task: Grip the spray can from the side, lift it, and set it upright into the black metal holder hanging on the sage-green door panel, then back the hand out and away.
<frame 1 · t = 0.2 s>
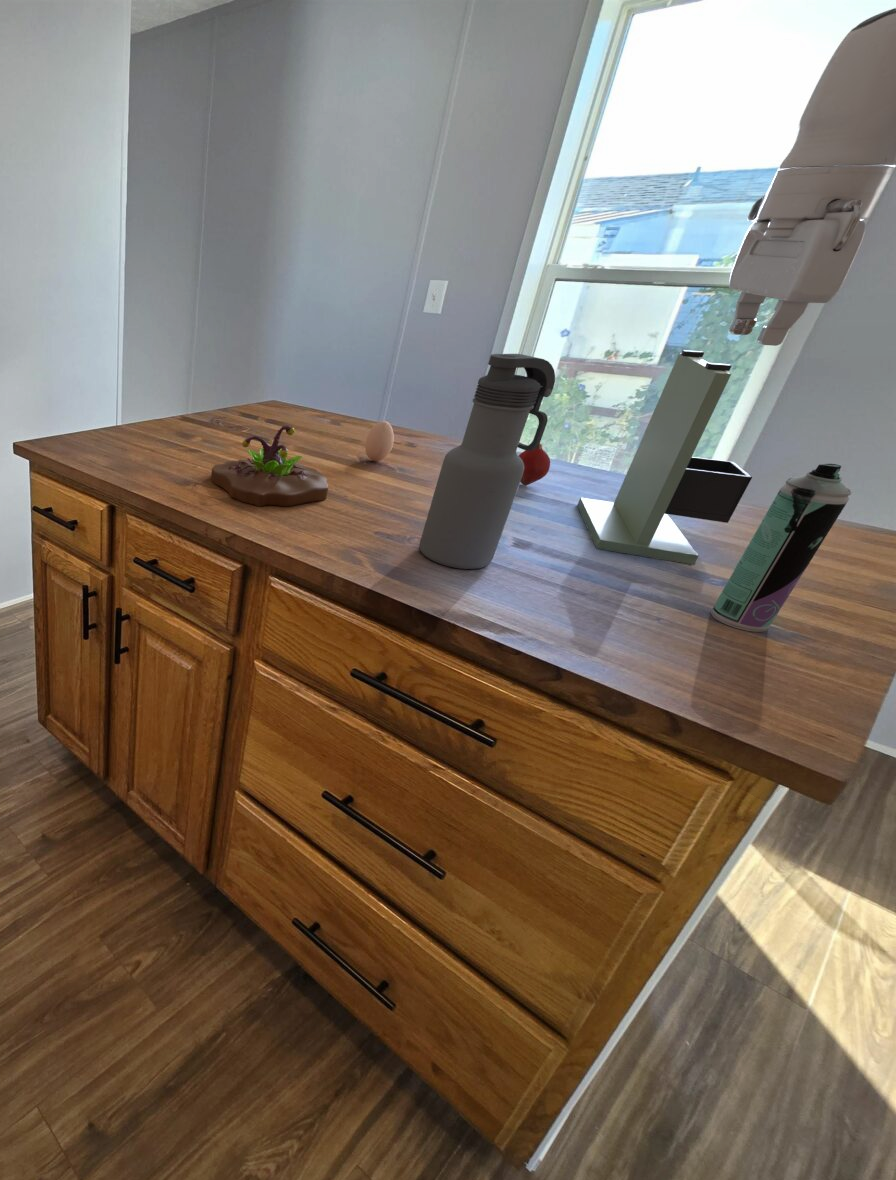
hand: (752, 339, 77), 31 cm above the counter, tool pointing down, fingers open, 8 cm apart
plant: (270, 487, 121), on the counter
water bottle: (454, 557, 96), on the counter
spray can: (737, 621, 81), on the counter
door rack: (671, 538, 103), on the counter
egg: (374, 461, 136), on the counter
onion: (524, 485, 124), on the counter
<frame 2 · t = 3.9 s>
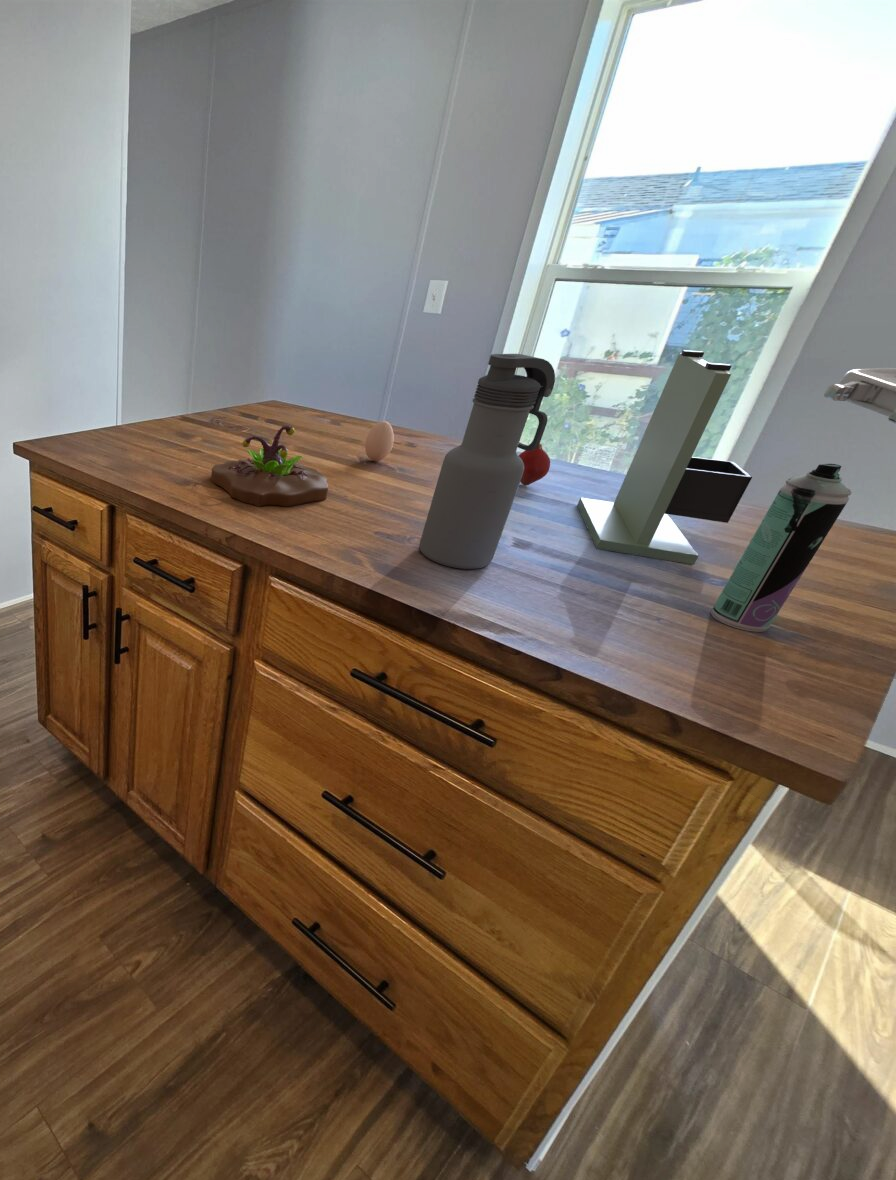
hand: (862, 403, 83), 23 cm above the counter, tool horizontal, fingers open, 8 cm apart
nothing on the counter moved.
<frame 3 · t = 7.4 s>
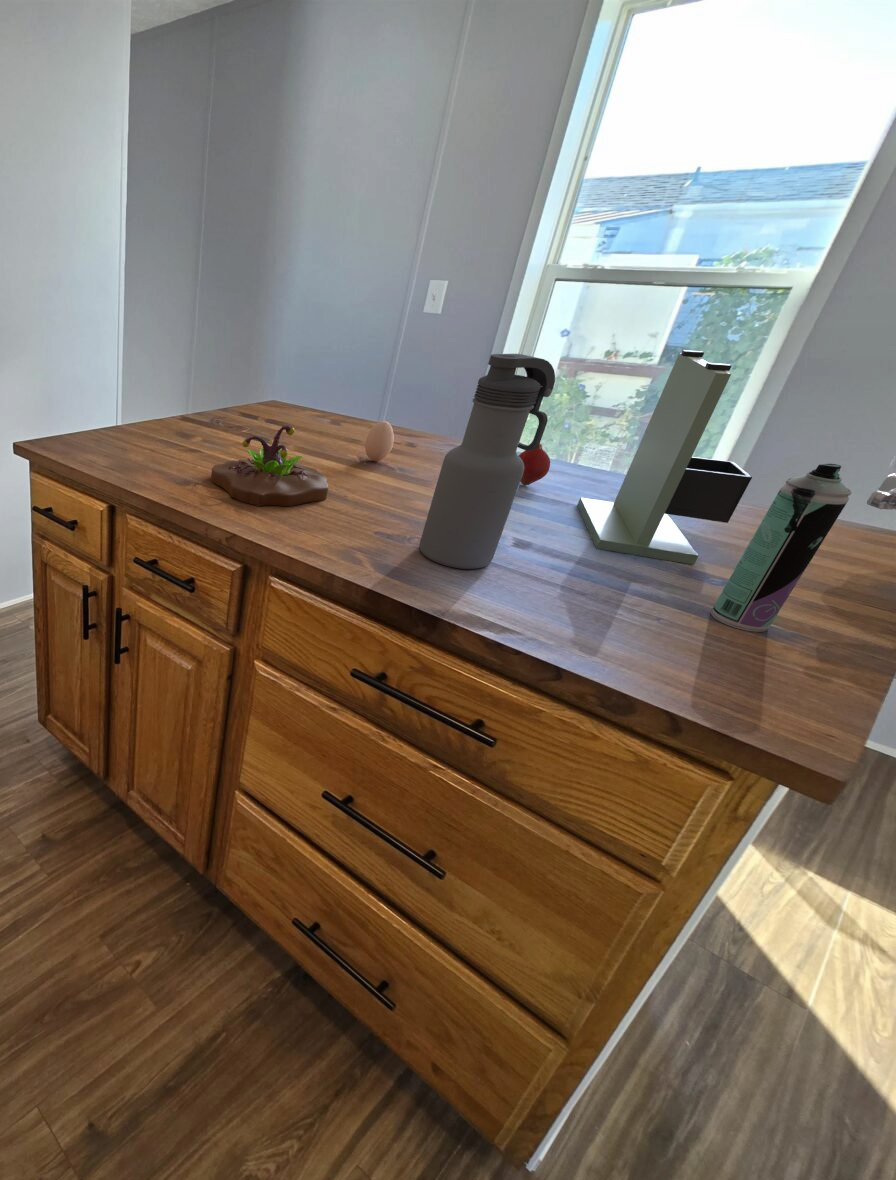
nothing on the counter moved.
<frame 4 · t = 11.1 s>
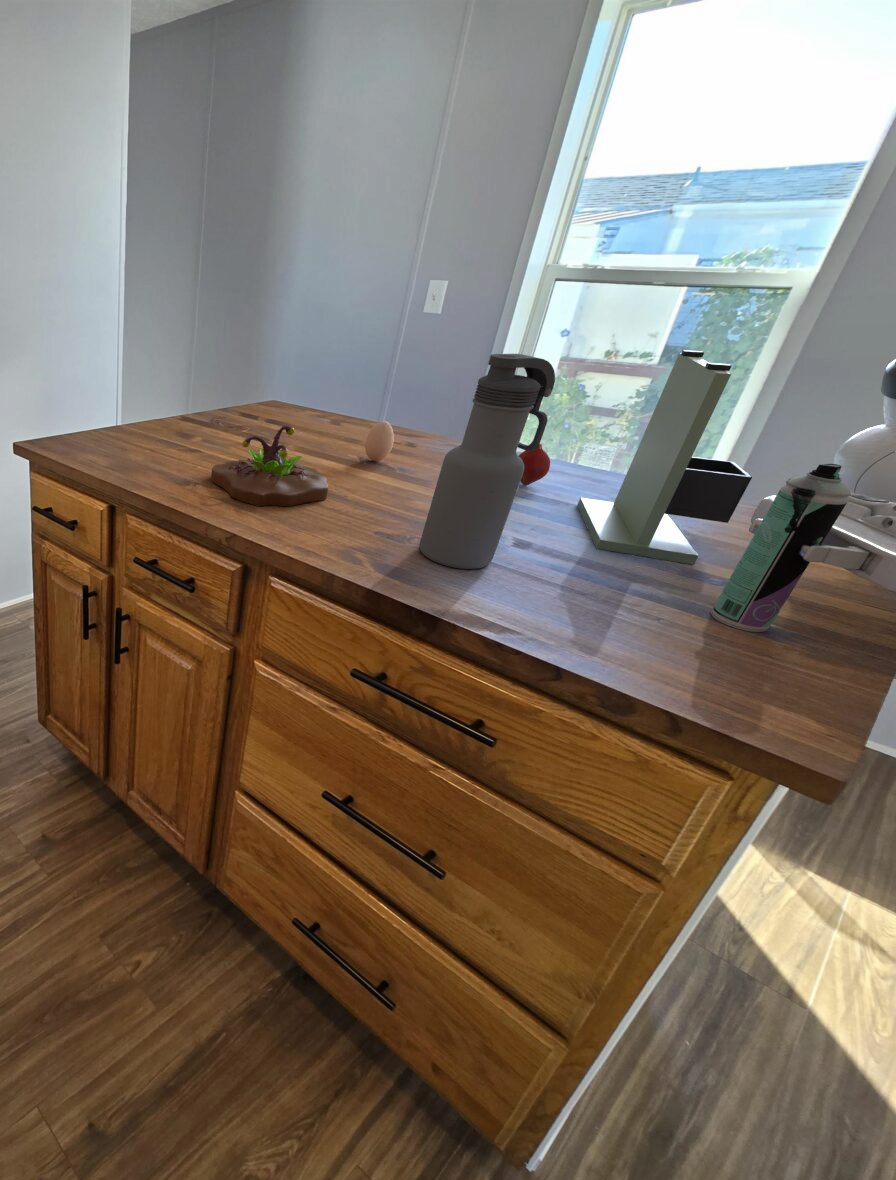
hand: (778, 539, 76), 11 cm above the counter, tool horizontal, fingers closed on spray can, 5 cm apart
spray can: (737, 621, 81), on the counter, touching gripper
everything else where it was.
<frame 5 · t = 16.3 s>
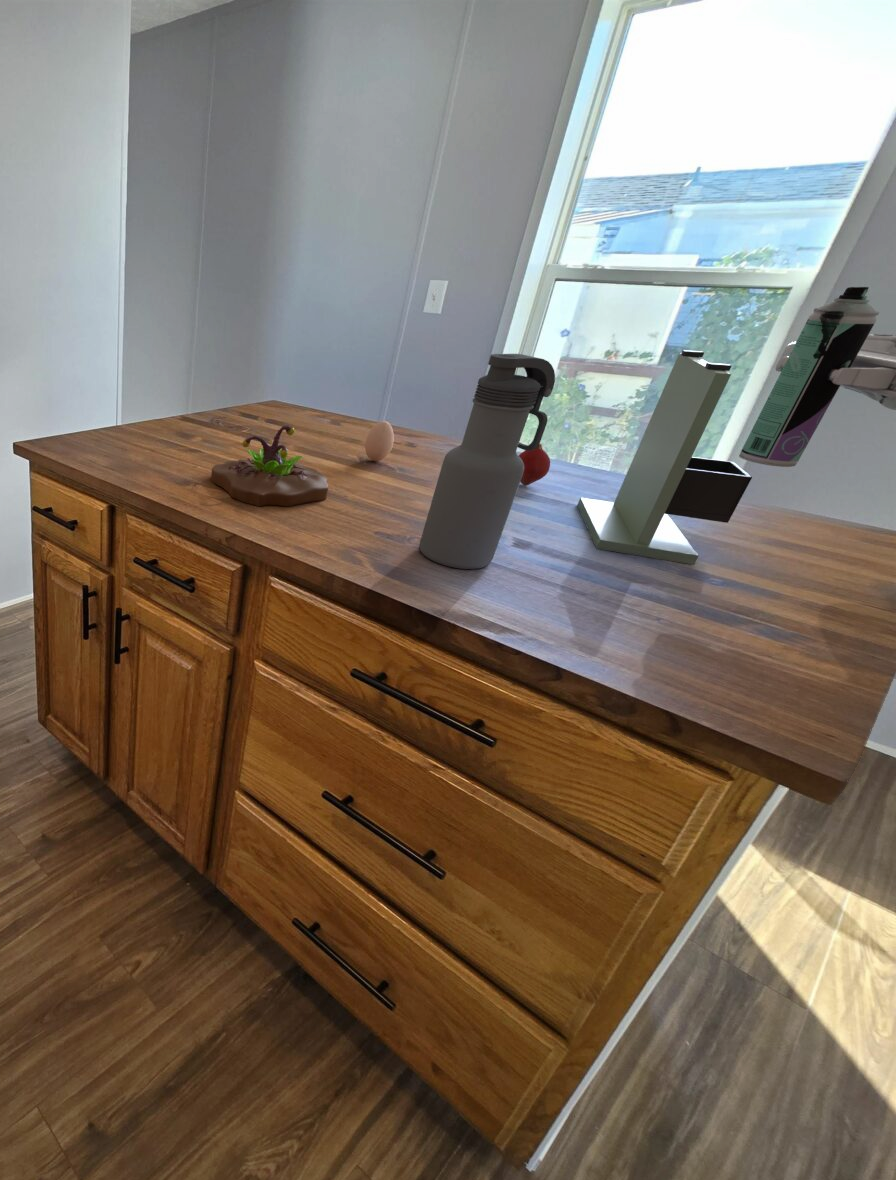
hand: (806, 369, 78), 28 cm above the counter, tool horizontal, fingers closed on spray can, 5 cm apart
spray can: (766, 461, 83), point 17 cm above the counter, touching gripper
everything else where it was.
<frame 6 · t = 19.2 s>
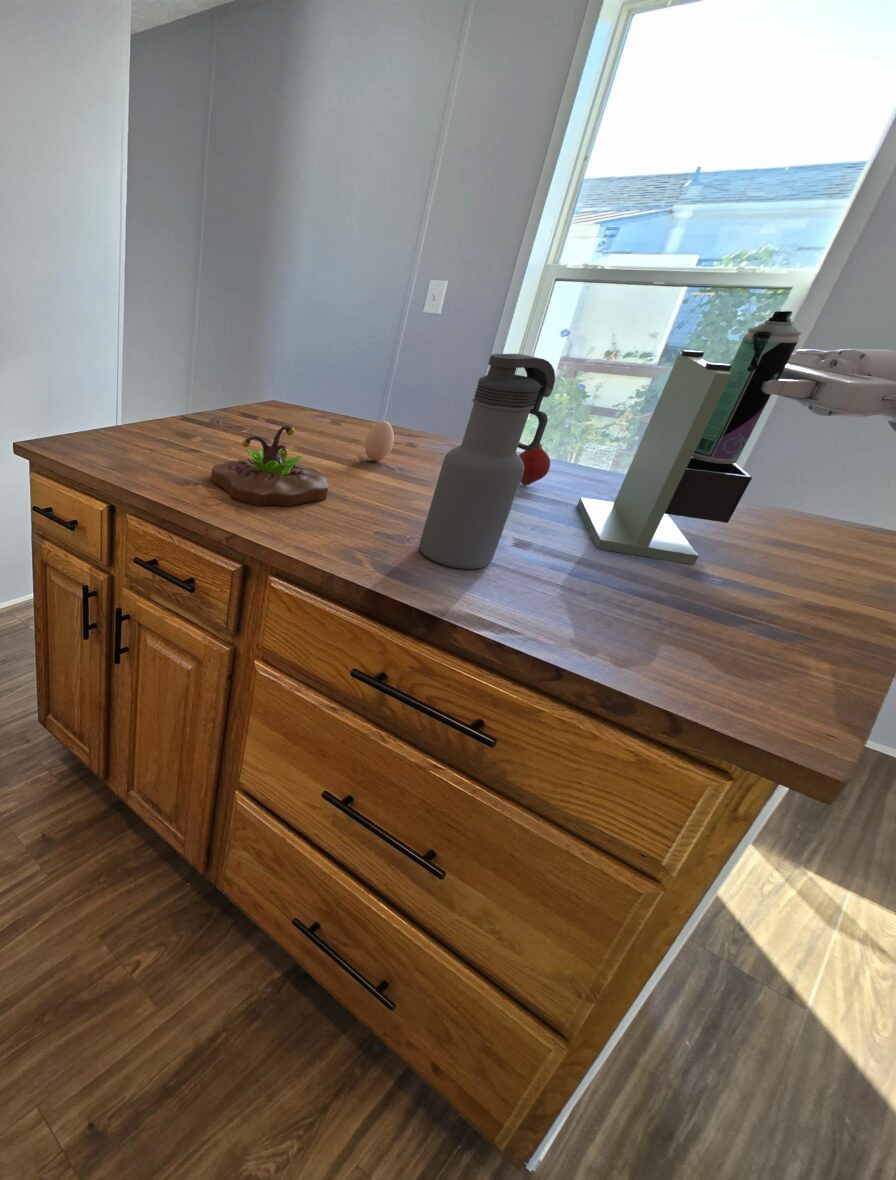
hand: (743, 380, 91), 24 cm above the counter, tool horizontal, fingers closed on spray can, 5 cm apart
spray can: (711, 459, 96), point 13 cm above the counter, touching gripper
everything else where it was.
when the fingers open (17 cm above the counter, at t = 21.6 s): spray can stays where it is, resting on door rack.
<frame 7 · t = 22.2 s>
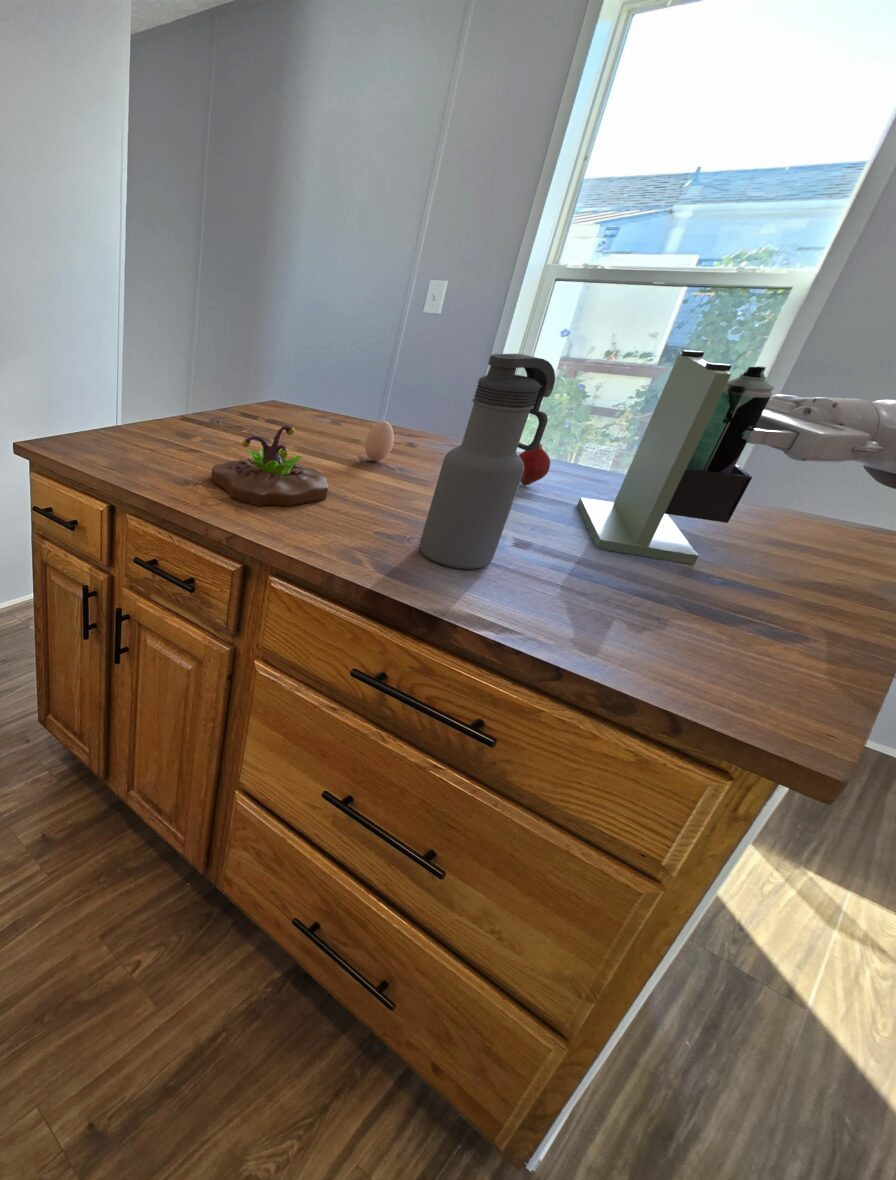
hand: (720, 426, 94), 18 cm above the counter, tool horizontal, fingers open, 8 cm apart
spray can: (689, 504, 100), point 6 cm above the counter, touching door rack
everything else where it was.
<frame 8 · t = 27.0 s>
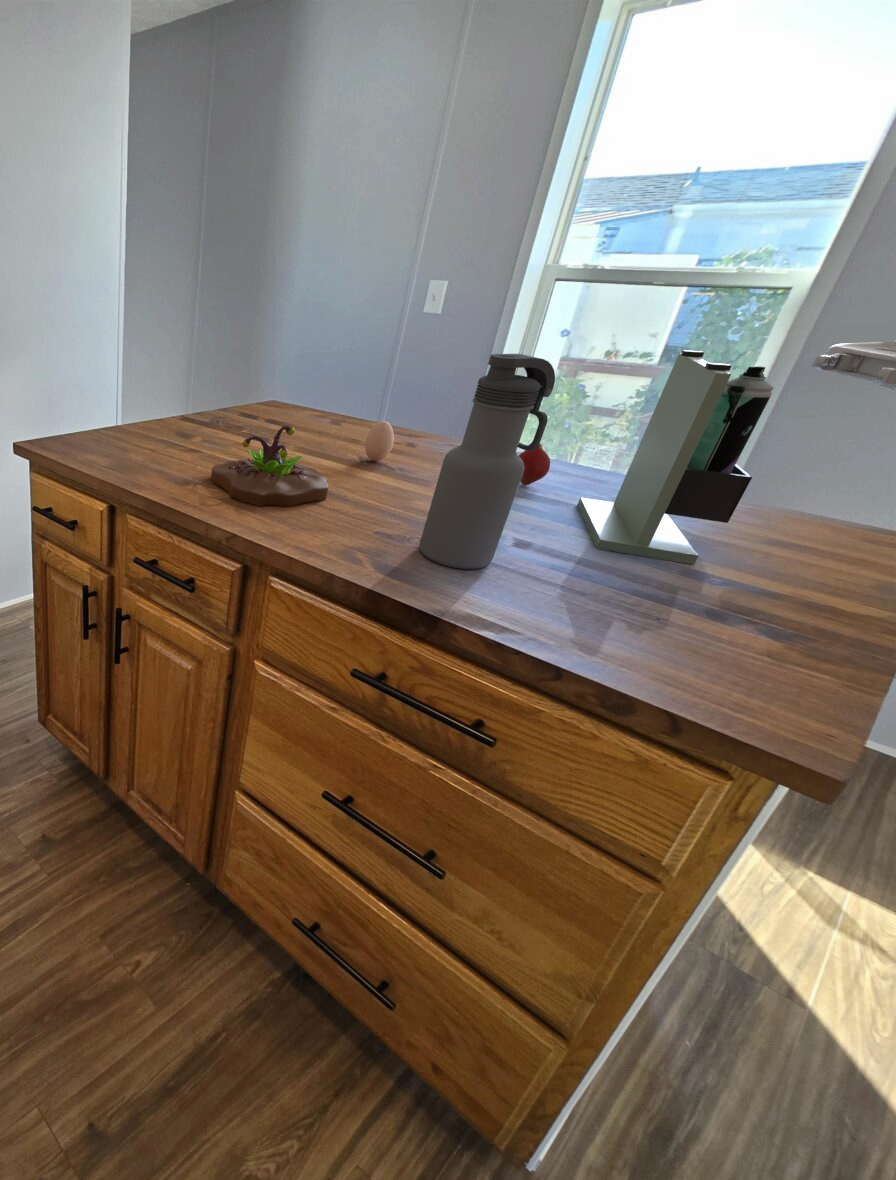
hand: (848, 368, 89), 26 cm above the counter, tool horizontal, fingers open, 8 cm apart
nothing on the counter moved.
at the end: spray can 0.0 cm off-centre on the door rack, point 5.8 cm above the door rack's base; spray can tilted 0°; the gripper is holding nothing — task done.
